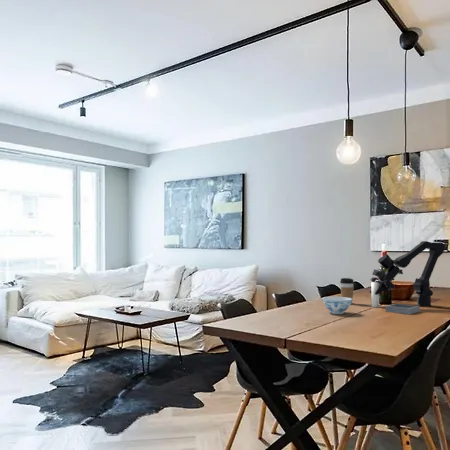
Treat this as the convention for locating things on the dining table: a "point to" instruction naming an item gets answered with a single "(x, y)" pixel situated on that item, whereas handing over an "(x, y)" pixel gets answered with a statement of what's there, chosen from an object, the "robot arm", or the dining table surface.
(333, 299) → the chinaware
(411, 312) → the socket tray
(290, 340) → the dining table surface
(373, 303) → the peg
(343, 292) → the coffee cup
